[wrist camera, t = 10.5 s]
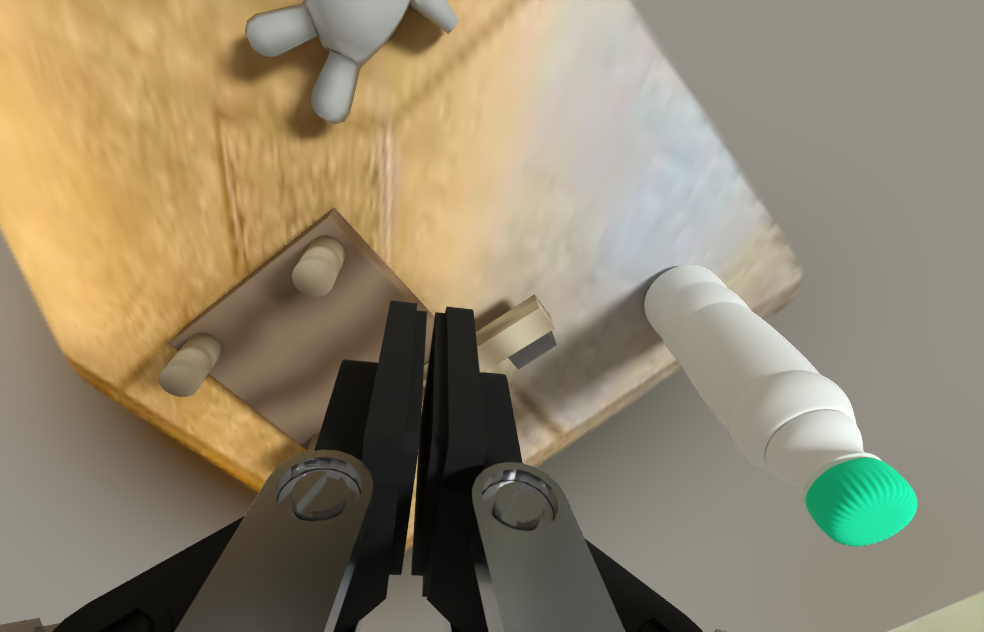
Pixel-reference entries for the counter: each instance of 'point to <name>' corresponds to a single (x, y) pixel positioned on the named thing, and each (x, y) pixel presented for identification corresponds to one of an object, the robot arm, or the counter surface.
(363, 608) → the robot arm
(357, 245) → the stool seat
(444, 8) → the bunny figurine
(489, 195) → the counter surface
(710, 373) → the water bottle
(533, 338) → the hinged leg
